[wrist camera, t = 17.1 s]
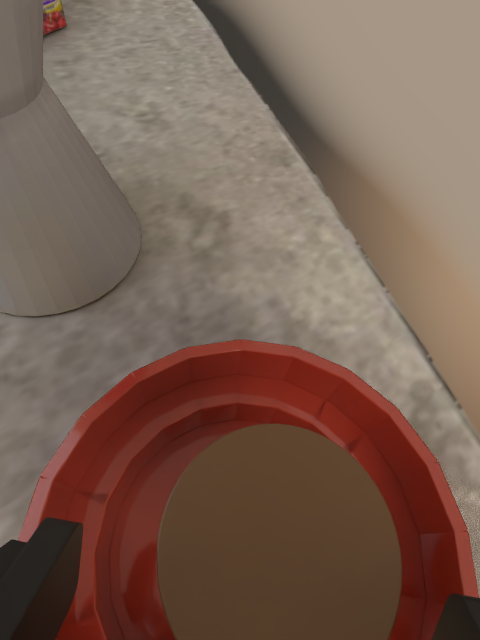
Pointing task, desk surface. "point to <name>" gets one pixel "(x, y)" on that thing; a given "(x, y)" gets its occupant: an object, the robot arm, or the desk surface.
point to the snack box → (52, 16)
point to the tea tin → (278, 543)
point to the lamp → (52, 188)
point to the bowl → (198, 433)
